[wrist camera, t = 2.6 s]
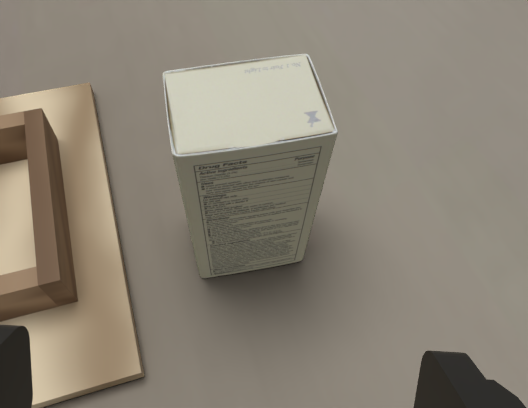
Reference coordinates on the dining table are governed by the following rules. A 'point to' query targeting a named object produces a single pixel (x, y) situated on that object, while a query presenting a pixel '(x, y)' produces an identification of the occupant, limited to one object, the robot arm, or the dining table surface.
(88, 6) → the dining table surface
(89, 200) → the carrier plate
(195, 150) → the skincare box
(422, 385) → the robot arm
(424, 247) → the dining table surface
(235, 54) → the dining table surface
